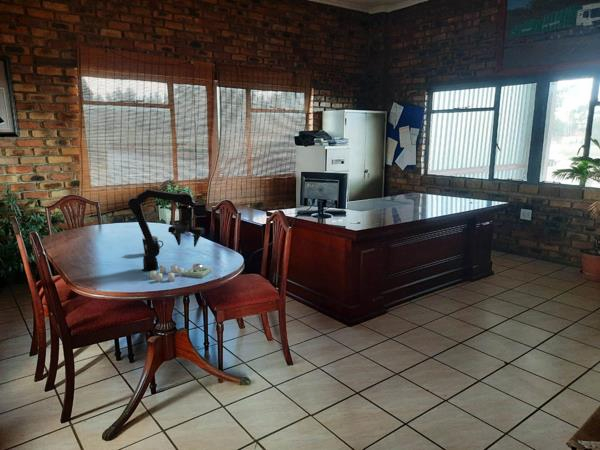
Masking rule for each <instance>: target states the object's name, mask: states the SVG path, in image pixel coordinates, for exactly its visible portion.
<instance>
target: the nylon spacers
mask: <svg viewBox="0 0 600 450" xmlns="http://www.w3.org/2000/svg"><path fill="white" fill-rule="evenodd" d="M170 269H171V270H170V271H171V272H169V273H167V265H160V266H159V272H158V273H157V270H155V271H149V278H150V280H155V282H156V283H161V282H163V280H164V279H163V275H164V274H167V282H175V274H177V276H179V277H182V276H185V271H184V267H178V264H175V265H171V267H170Z"/></svg>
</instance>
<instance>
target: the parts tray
mask: <svg viewBox="0 0 600 450" xmlns="http://www.w3.org/2000/svg"><path fill="white" fill-rule="evenodd" d="M211 273H212V267H204V266H203V272H202V273H197V272H193V266H192V267H190V268H188V269H186V270H185V271H184V277H190V276H191V278H200V279H204V278H205V277H207V276H208V275H210V274H211Z"/></svg>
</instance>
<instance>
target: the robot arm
mask: <svg viewBox="0 0 600 450" xmlns="http://www.w3.org/2000/svg"><path fill="white" fill-rule="evenodd" d="M151 198H152V199H157V200H158V199H159V200H165V201H172V202H175V203H178V206H176V209H177V210H180V219H179V221H178V224H176V225H175V224H174V225H171V226H168V228H167V229H168V230H167V232H168V233H170V234H171V235H173V236H174V238H175V240H176V243H177V245H178V246H180V245H181V239H182V237H181V235H183V234H186V233H193V235H192V237H193V247H194V248H195V247H197V245H198V242H199V240H200V238H201V236H202V235H204V234H205V233H206V230H205V228H204V227H196V228H194V225H193V221H194V218H193V216H195V218H200V217H203V218H204V217H207V206H206V204H205V203H200V204H199V203H195V201H193V198H192V196H191V194H190V193H188V192H168V191H162V190H155V189H151V188H146V189H145V190H144V191H143V192H141V193H140V194H137V195H136V196H132V197H130V198H129V199H128V203H127V205H128V207H129V209H130V210H131V212H132V213H133V215H134V216H135V218H136V220H137V223H138V226H139V228H140V230H141V233H142V236H143V237H144V238H145V240H146V245H147V251H146V252H144V253H143V254H144V255H143V258H142V264H143V267H142V269H141V271H142V272H143V271H144V272H150V271H157V270H158V269H159V270H160V266H159V262H158V258H157V257H158V256H159V254H160V250H161V248H160V247H161V245H160V244H159V242H158V241H159V240H158V239H159V238H158V239H156V240H154V238H153V237H152V236H153V235H152V232H151V230H150V228H149V225H148V222H147V220H146V219H147V218H146V217H145V215H144V212H143V206H142V204H143V203H144V202H145V201H146V200H148V199H151Z"/></svg>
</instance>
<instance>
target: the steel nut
mask: <svg viewBox="0 0 600 450" xmlns="http://www.w3.org/2000/svg"><path fill="white" fill-rule="evenodd" d="M192 267H193V272H197V273H202V272H203V267H204V265H203V263H194V264H192Z"/></svg>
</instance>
